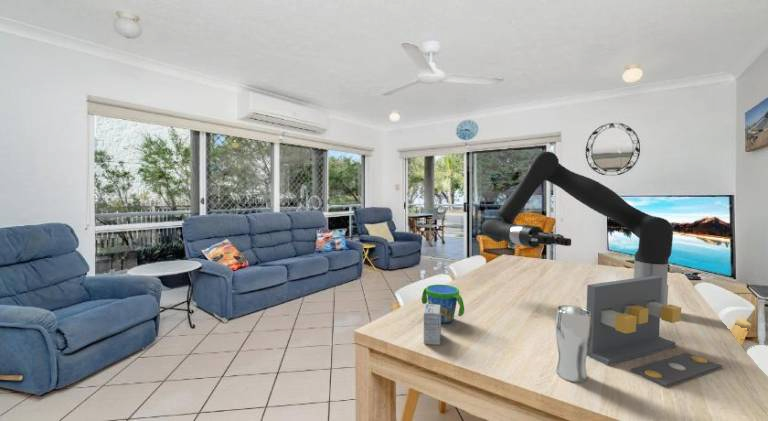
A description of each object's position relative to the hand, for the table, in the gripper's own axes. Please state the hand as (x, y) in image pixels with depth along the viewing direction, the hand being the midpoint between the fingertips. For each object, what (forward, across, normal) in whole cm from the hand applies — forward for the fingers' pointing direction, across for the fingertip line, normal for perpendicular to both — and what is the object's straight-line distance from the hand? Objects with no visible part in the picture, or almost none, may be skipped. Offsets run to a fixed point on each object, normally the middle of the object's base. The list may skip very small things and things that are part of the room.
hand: (569, 242), depth 102 cm
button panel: (+16, +1, +26) cm, 31 cm away
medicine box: (-7, -44, +26) cm, 52 cm away
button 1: (+18, -8, +18) cm, 27 cm away
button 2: (+18, +10, +18) cm, 28 cm away
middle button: (+16, +1, +18) cm, 24 cm away
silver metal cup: (+21, -24, +26) cm, 41 cm away
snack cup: (-18, -34, +26) cm, 46 cm away
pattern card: (+28, +1, +26) cm, 38 cm away
